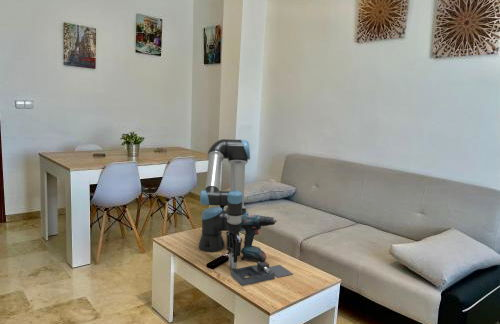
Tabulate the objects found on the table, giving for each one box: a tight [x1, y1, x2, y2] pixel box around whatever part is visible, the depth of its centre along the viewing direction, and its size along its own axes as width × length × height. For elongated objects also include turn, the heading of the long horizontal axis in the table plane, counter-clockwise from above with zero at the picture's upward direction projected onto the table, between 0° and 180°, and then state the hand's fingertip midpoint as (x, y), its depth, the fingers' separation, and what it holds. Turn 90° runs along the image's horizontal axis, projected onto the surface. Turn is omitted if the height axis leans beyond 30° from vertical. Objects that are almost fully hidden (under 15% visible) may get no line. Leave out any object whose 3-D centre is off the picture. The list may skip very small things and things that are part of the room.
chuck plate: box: [230, 261, 276, 287], centre depth 189 cm, size 12×18×6 cm, turn 119°
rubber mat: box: [269, 264, 294, 279], centre depth 197 cm, size 12×9×1 cm
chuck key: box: [227, 246, 237, 271], centre depth 196 cm, size 4×6×12 cm, turn 119°
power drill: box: [240, 214, 278, 263], centre depth 210 cm, size 9×23×25 cm, turn 78°
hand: (232, 266), depth 197 cm, fingers closed on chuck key, 3 cm apart
